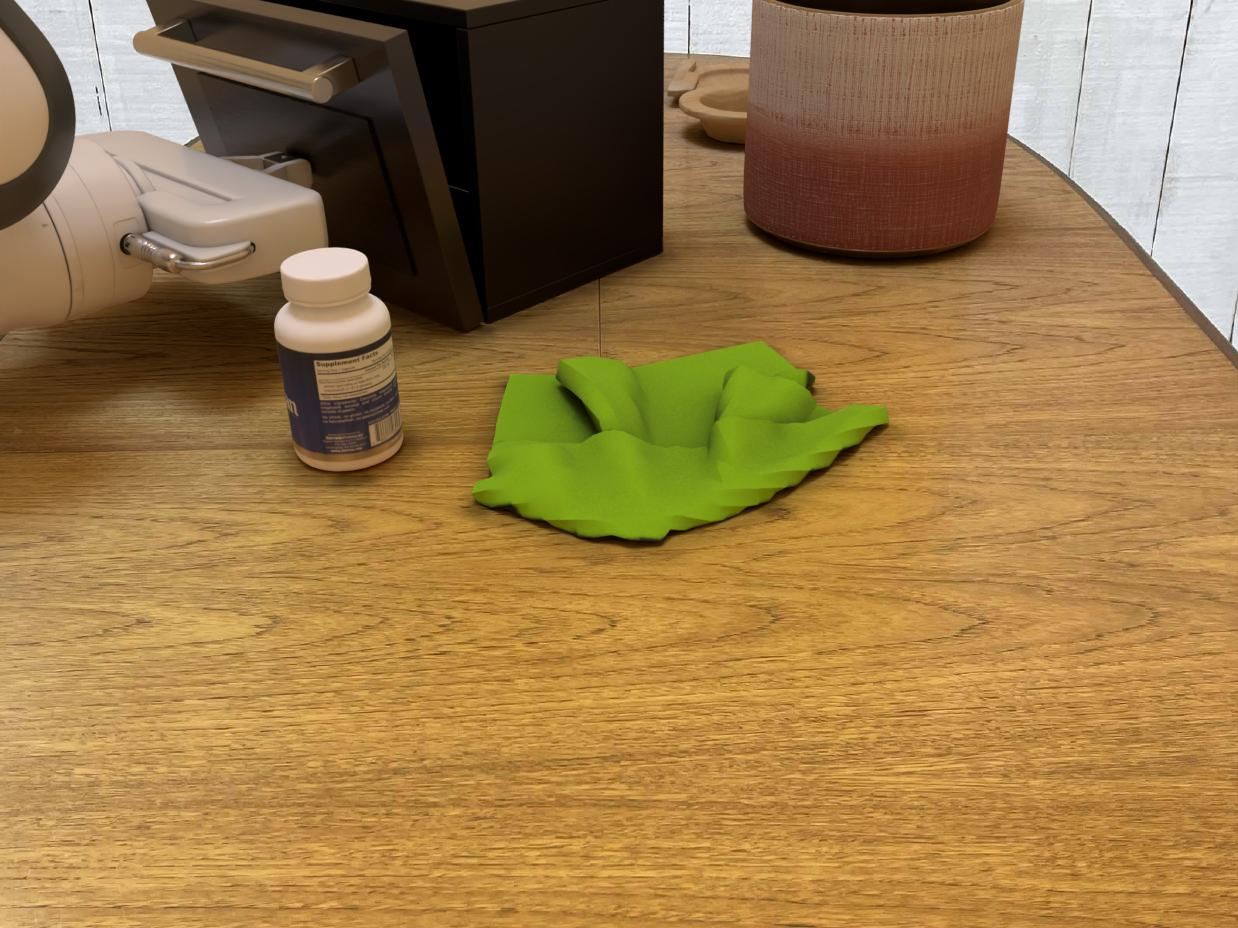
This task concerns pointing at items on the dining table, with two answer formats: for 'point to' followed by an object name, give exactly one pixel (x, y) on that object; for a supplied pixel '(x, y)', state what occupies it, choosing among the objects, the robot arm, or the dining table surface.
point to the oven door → (329, 132)
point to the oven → (540, 132)
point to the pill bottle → (337, 362)
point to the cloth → (661, 441)
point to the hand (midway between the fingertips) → (298, 168)
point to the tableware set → (714, 97)
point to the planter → (878, 122)
